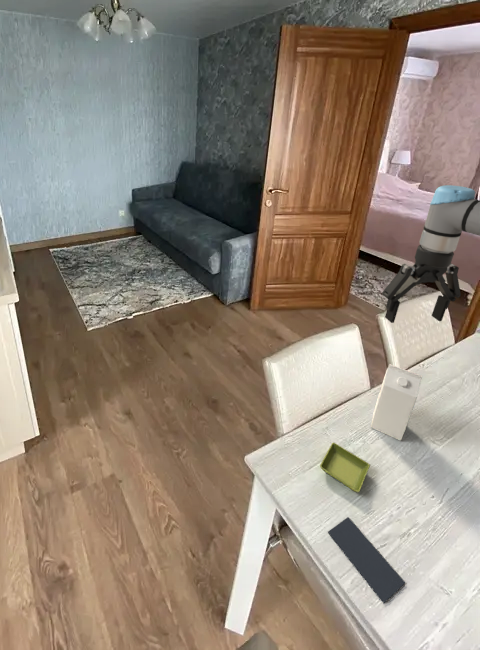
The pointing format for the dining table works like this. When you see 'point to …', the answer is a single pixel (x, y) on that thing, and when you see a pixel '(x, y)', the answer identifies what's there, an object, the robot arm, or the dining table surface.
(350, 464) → the green rectangular tray
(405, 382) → the milk carton
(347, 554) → the edge strip
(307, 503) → the dining table surface
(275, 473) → the dining table surface
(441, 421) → the dining table surface
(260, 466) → the dining table surface
